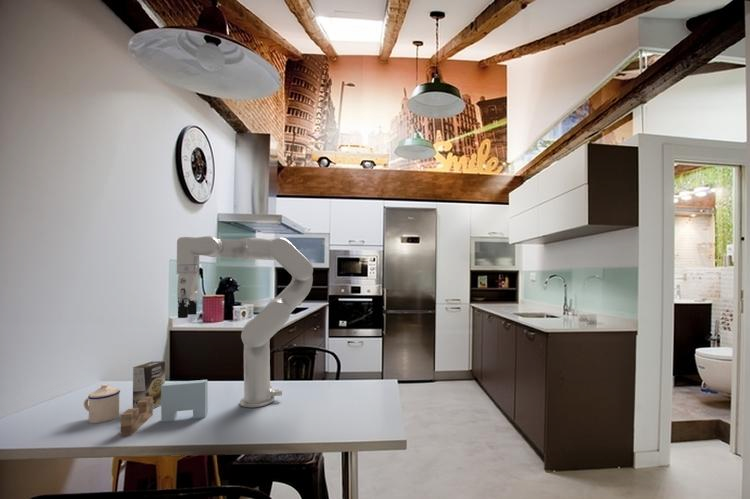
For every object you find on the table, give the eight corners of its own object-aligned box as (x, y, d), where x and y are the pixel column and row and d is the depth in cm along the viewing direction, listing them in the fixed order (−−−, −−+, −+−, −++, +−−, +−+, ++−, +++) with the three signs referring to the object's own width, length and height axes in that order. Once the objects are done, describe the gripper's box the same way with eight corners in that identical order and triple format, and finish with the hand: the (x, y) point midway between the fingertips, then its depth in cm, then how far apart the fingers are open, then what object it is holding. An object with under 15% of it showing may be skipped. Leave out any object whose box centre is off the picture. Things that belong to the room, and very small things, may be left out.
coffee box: (146, 412, 131) (146, 367, 132) (131, 411, 133) (131, 367, 134) (165, 402, 140) (165, 360, 141) (151, 402, 142) (151, 360, 142)
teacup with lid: (126, 413, 131) (126, 380, 132) (105, 423, 122) (105, 388, 123) (95, 413, 132) (95, 380, 133) (72, 423, 123) (73, 389, 124)
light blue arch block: (207, 413, 128) (207, 379, 129) (205, 417, 125) (205, 382, 126) (164, 418, 125) (164, 383, 126) (161, 421, 122) (161, 385, 123)
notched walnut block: (143, 415, 128) (143, 397, 128) (152, 415, 129) (152, 396, 129) (120, 436, 112) (120, 414, 113) (131, 435, 113) (131, 413, 113)
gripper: (191, 269, 127) (190, 318, 126) (205, 270, 144) (205, 313, 143) (168, 270, 126) (167, 319, 125) (185, 270, 143) (184, 313, 142)
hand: (187, 316), depth 134 cm, fingers open, 9 cm apart
